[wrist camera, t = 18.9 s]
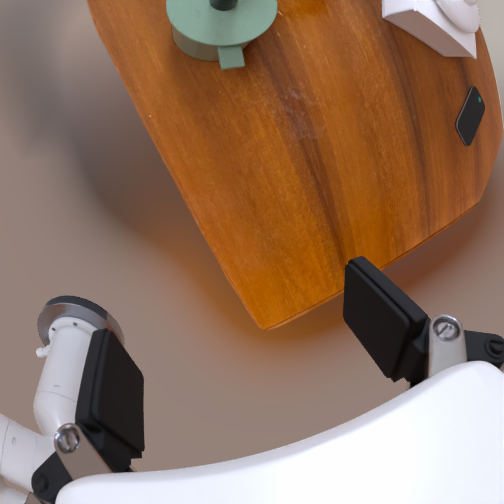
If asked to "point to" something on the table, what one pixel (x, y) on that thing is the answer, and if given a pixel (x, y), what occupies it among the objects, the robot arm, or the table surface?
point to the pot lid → (221, 19)
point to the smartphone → (470, 116)
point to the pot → (211, 51)
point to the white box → (437, 23)
